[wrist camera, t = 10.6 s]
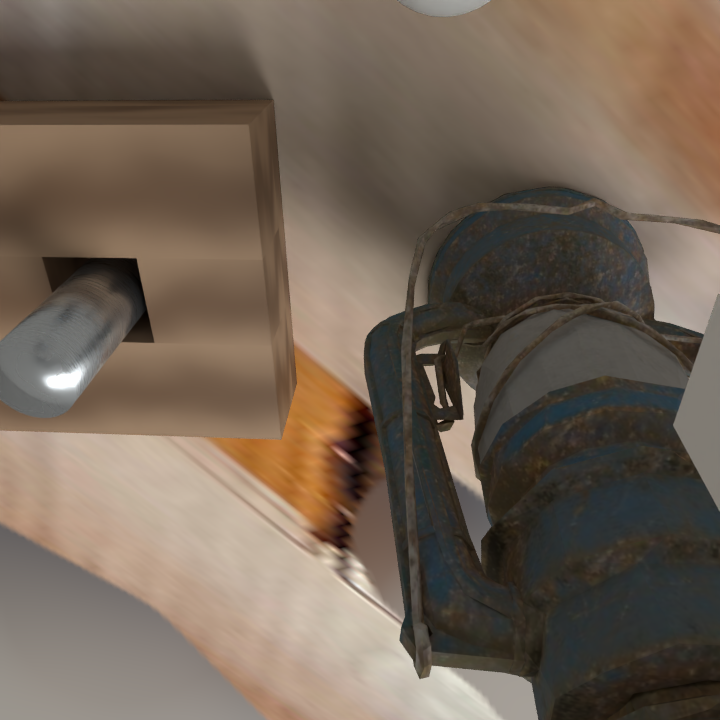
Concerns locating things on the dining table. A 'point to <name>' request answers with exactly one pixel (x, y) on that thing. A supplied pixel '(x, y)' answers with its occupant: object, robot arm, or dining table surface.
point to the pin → (70, 337)
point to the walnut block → (156, 257)
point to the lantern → (552, 465)
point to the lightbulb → (443, 6)
